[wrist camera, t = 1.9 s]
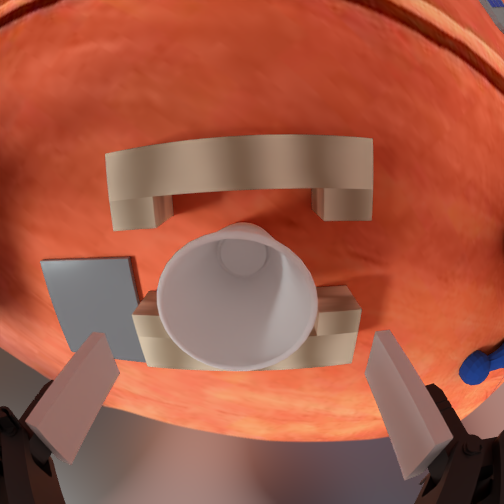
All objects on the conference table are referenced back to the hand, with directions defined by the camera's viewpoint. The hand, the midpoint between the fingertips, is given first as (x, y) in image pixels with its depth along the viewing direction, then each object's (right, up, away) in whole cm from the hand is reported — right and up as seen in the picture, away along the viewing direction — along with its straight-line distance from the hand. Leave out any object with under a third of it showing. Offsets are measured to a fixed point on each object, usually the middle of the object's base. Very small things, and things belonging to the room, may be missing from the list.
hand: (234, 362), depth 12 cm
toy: (+43, -13, +21) cm, 50 cm away
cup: (0, +5, +15) cm, 16 cm away
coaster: (-19, -2, +17) cm, 26 cm away
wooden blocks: (0, +5, +15) cm, 15 cm away
